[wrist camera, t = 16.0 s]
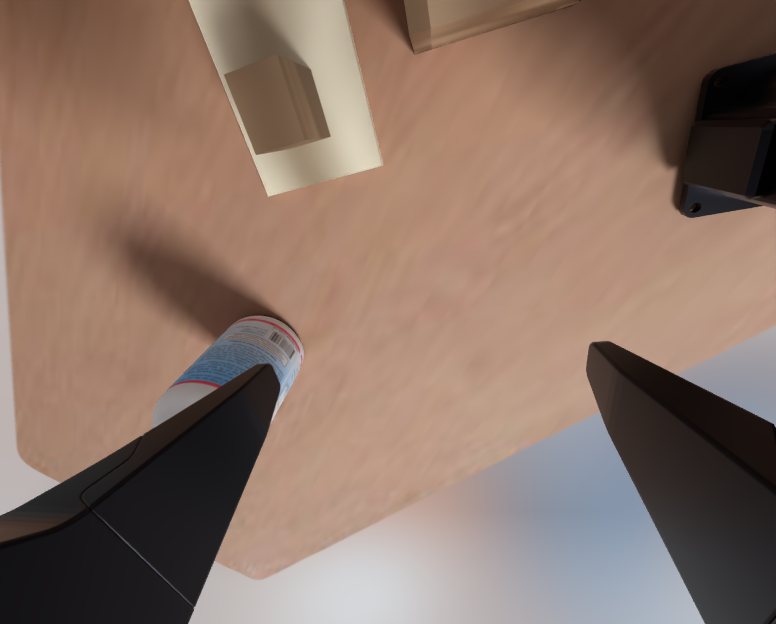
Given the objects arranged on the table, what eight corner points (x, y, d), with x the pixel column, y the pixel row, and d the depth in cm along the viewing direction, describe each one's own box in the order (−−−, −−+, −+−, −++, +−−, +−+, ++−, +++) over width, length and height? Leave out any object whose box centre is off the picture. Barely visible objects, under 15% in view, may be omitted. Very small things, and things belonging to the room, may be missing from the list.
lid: (289, -235, 12) (211, -428, 8) (384, 163, 19) (369, 175, 14) (141, -146, 14) (9, -266, 10) (275, 193, 20) (232, 212, 16)
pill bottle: (218, 315, 25) (79, 438, 15) (293, 309, 24) (195, 437, 14) (247, 377, 28) (146, 513, 18) (315, 374, 27) (246, 518, 17)
